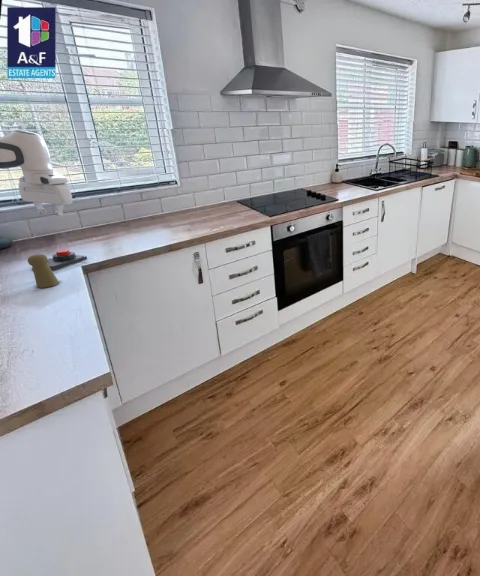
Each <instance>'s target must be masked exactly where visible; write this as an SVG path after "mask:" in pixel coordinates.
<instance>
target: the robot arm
mask: <svg viewBox="0 0 480 576" xmlns="http://www.w3.org/2000/svg"><path fill="white" fill-rule="evenodd" d="M12 168H21V171H22V174H23V176H20V178H19V179H18V190H19V194H20V198H21V200H22V201H23V202H29V203H32V204H33V206H34V207H35V209H37V211H38V214H40V215H46V214H47V213H48V212H47V209H46V208H44V206H43V204H50V205H51V204H52V205H54V207H55V208H56V210H54V213H55V216H59V217H61V216H64V212H63V211H64V210H63V209H64V206H66V205H71V204H73V195H72V191H71V189H70V186H69V185H68V183H69V180H68V178H67V177H66V176H64V175H62V174H59V173H58V172H55V169H54V167H53V166H52V164H51V155H50V153H49V149H48V146H47V144H46V142H45V140H44V138H43V137H42V136H41V135H40V134H38V133H36V132H32V131H26V130H20V129H15V130H12V131H11V132H10V133H8V134H6V135H3V136H0V170H9V169H12Z"/></svg>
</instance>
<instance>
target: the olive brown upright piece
mask: <svg viewBox="0 0 480 576" xmlns="http://www.w3.org/2000/svg"><path fill="white" fill-rule="evenodd" d="M48 259H49V258H48V256H46V255H45V254H40V253H39V254H34V255H31V256H29V257H27V263H28V265H30V266H31V267H32V271H33V276H34V280H35V284H36V287H37V288H40V289H44V288H50V287H54V286H57V285H58V284H59V283H60V282H59V280H58V278H57V276H56V275H55V273H54V271H52V270H51V268H50V267H49V265H48V264H47V262H48Z"/></svg>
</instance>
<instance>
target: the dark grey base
mask: <svg viewBox="0 0 480 576" xmlns="http://www.w3.org/2000/svg"><path fill="white" fill-rule="evenodd" d="M69 252H70V254H69V255H64V256H57V253H56V252H55V253H53V254H52V255H51V257H50V258H48V262H47V264H48V265H49V267H50V268H51V270H52V272H55V271H58V270H60V269H64V268H67V267H69V266H72V265H74V264H77V263H80V262H83V261H85V260H87V259H88V257H87V255H80V254H76V252H74V251H69Z"/></svg>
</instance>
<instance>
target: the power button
mask: <svg viewBox="0 0 480 576" xmlns="http://www.w3.org/2000/svg"><path fill="white" fill-rule="evenodd" d="M70 252H71V251H70V249H58V250H56V251H55V254H56V253H57V256H64V255H69V254H70Z"/></svg>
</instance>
